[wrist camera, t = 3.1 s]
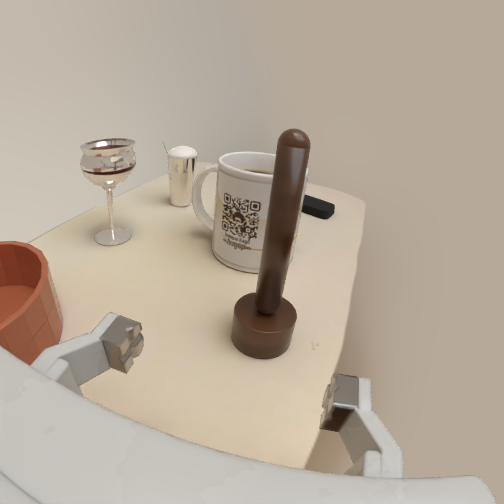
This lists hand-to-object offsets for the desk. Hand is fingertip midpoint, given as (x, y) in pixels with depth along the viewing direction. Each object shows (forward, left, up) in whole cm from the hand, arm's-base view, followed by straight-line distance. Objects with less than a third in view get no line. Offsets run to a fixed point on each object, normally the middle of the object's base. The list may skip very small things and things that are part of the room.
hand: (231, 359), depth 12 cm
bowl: (+4, +22, -10) cm, 24 cm away
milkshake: (+37, +13, -10) cm, 41 cm away
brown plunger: (+11, -2, -10) cm, 15 cm away
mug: (+26, +1, -10) cm, 28 cm away
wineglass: (+24, +18, -10) cm, 32 cm away
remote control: (+44, -5, -10) cm, 45 cm away
